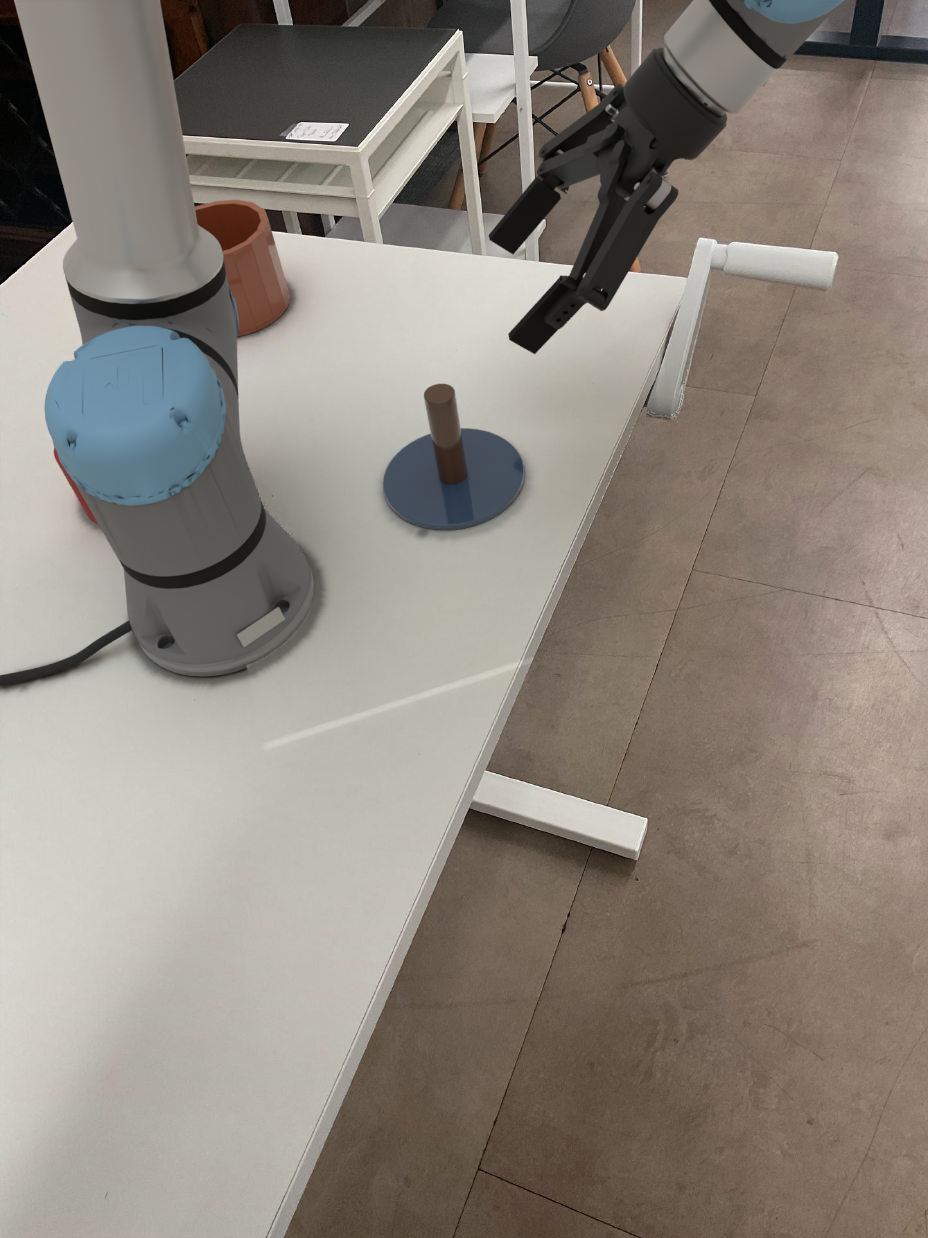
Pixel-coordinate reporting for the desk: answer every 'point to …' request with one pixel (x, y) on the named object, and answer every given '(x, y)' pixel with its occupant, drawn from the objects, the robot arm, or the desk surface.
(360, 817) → the desk surface
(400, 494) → the lid
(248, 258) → the jar
